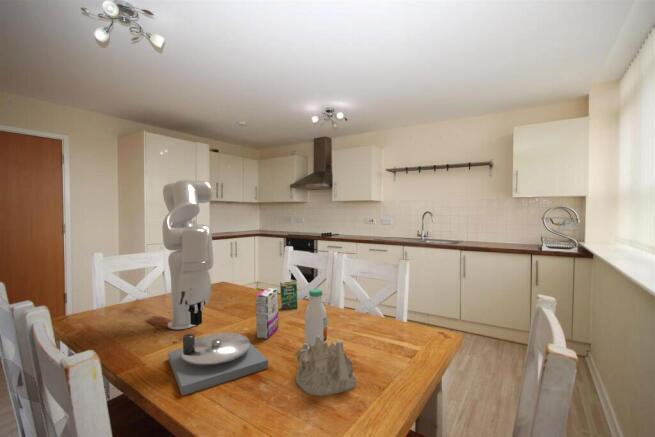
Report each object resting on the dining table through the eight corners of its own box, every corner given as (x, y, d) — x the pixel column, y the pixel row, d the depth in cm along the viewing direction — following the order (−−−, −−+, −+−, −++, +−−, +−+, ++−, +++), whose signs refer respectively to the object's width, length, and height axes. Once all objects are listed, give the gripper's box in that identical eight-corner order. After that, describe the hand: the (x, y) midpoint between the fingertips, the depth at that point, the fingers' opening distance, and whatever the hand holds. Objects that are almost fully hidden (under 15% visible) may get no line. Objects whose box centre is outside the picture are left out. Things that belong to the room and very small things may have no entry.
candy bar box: (267, 327, 126) (266, 287, 125) (278, 328, 125) (278, 288, 124) (255, 338, 115) (255, 295, 114) (268, 339, 114) (267, 295, 113)
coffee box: (280, 309, 147) (280, 283, 147) (280, 308, 150) (280, 281, 150) (297, 308, 149) (297, 282, 149) (296, 306, 152) (296, 280, 152)
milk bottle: (319, 353, 102) (318, 294, 102) (300, 348, 106) (300, 291, 106) (331, 344, 109) (330, 289, 108) (313, 340, 113) (312, 286, 112)
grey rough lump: (361, 390, 81) (357, 333, 82) (300, 401, 78) (296, 341, 78) (345, 364, 96) (342, 317, 97) (293, 373, 93) (290, 323, 93)
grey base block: (168, 359, 99) (168, 348, 99) (241, 340, 113) (241, 331, 112) (182, 395, 79) (181, 382, 79) (268, 368, 93) (267, 356, 93)
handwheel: (237, 333, 110) (237, 314, 109) (259, 355, 93) (258, 332, 93) (176, 348, 98) (175, 327, 98) (188, 376, 82) (188, 350, 82)
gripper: (202, 263, 106) (203, 315, 106) (166, 270, 92) (168, 331, 92) (220, 263, 103) (221, 317, 103) (186, 271, 89) (187, 334, 89)
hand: (196, 323), depth 98 cm, fingers closed
